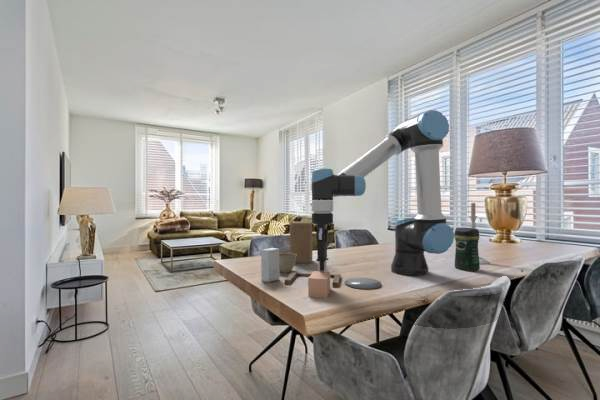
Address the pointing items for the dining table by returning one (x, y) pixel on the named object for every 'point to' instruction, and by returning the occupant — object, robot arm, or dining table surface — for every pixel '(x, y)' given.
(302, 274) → the rack
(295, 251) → the wooden block
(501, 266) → the dining table surface
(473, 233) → the coffee jar
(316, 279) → the block
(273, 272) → the skincare box
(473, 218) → the candlestick
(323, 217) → the robot arm
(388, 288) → the dining table surface
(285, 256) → the flower pot
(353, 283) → the plate
